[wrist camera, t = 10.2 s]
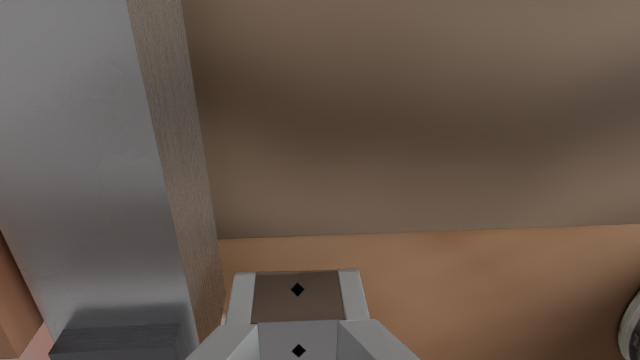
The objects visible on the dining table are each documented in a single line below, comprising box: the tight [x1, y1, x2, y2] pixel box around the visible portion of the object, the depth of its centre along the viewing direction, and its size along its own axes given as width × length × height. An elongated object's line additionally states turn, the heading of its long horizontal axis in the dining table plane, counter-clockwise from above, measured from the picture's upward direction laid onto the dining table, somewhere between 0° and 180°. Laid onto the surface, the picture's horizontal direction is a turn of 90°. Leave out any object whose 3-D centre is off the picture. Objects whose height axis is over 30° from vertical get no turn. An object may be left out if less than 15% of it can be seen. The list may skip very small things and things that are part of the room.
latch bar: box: [0, 0, 226, 360], centre depth 7 cm, size 16×4×4 cm, turn 0°
